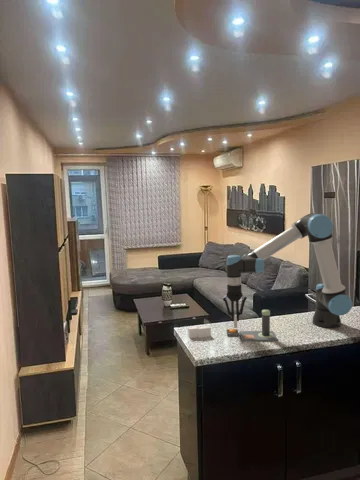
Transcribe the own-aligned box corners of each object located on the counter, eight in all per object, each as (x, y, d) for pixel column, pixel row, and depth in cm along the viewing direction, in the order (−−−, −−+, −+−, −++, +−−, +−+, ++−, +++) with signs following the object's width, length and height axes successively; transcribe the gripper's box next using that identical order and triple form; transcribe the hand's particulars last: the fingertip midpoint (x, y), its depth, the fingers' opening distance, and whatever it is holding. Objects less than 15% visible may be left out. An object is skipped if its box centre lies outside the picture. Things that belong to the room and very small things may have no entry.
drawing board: (273, 332, 191) (273, 330, 191) (278, 341, 179) (278, 339, 179) (239, 332, 192) (239, 330, 192) (242, 341, 180) (242, 339, 180)
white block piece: (215, 335, 191) (215, 324, 190) (208, 343, 180) (208, 332, 180) (189, 331, 197) (189, 321, 196) (181, 339, 186) (181, 328, 186)
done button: (235, 332, 192) (235, 328, 192) (236, 335, 188) (236, 331, 188) (228, 332, 192) (228, 328, 192) (229, 335, 188) (229, 331, 188)
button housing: (237, 331, 193) (237, 329, 193) (238, 336, 187) (238, 333, 187) (226, 332, 193) (226, 329, 193) (227, 336, 187) (227, 333, 187)
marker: (269, 333, 187) (269, 309, 186) (270, 336, 183) (270, 312, 182) (261, 333, 187) (261, 309, 186) (262, 336, 183) (262, 312, 182)
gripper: (222, 286, 185) (223, 329, 187) (247, 285, 184) (248, 329, 187) (221, 283, 192) (222, 324, 195) (245, 282, 192) (246, 324, 194)
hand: (235, 326), depth 191 cm, fingers closed
